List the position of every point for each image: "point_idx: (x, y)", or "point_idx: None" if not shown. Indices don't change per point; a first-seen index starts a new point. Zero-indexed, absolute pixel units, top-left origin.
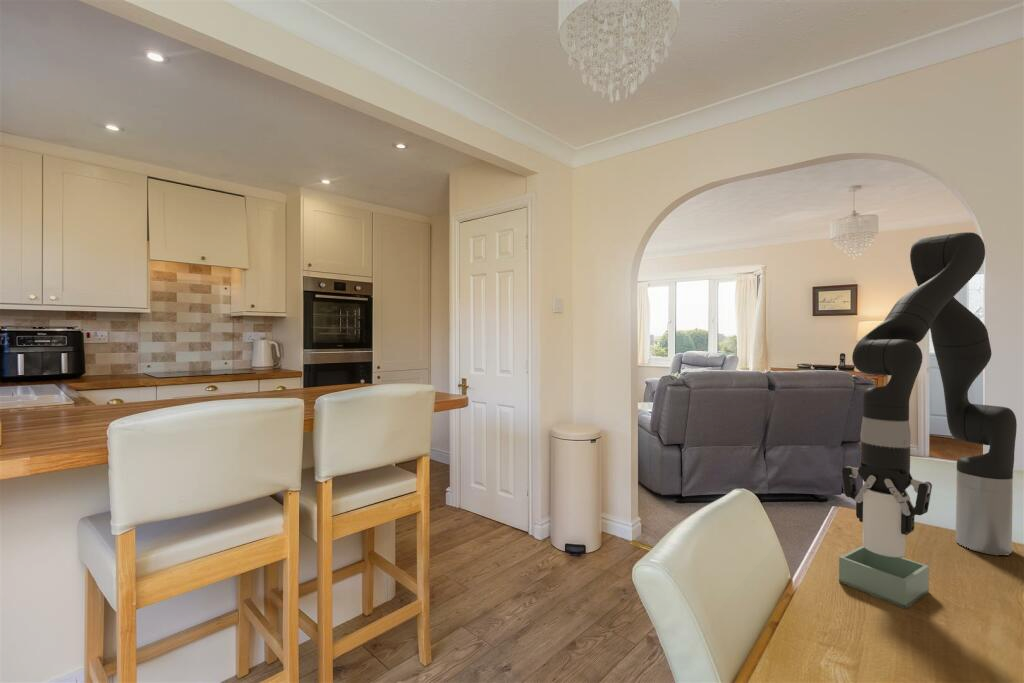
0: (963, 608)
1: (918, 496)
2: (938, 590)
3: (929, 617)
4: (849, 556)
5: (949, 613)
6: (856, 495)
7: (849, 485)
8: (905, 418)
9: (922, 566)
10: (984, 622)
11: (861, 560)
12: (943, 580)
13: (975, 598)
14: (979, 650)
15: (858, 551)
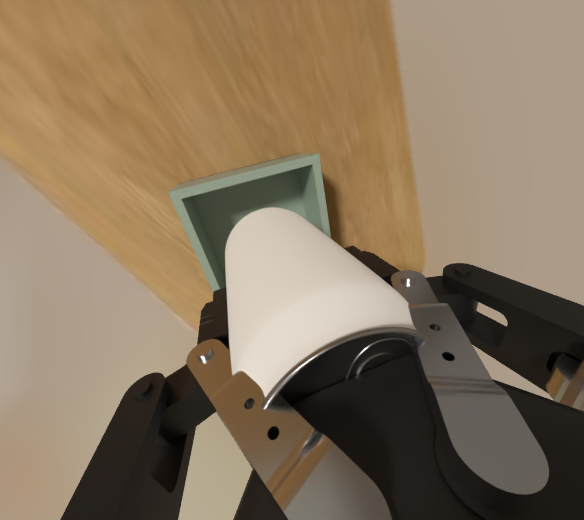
0: (352, 156)
1: (535, 379)
2: (300, 119)
3: (342, 244)
4: (218, 283)
5: (349, 201)
6: (210, 411)
7: (176, 502)
8: None
9: (314, 173)
10: (382, 175)
11: (195, 216)
12: (274, 33)
13: (346, 76)
14: (398, 258)
15: (200, 241)
